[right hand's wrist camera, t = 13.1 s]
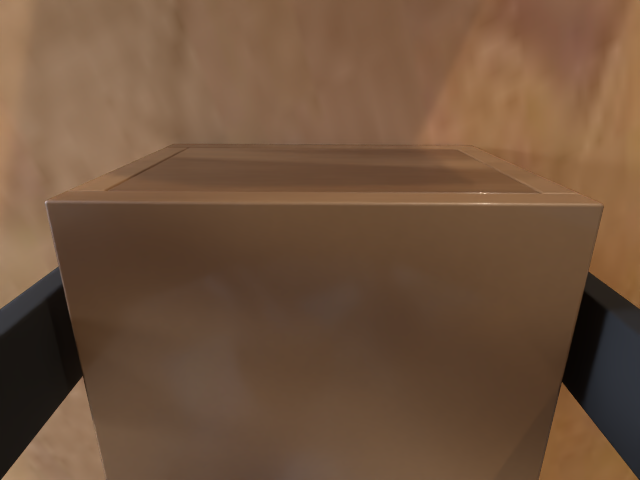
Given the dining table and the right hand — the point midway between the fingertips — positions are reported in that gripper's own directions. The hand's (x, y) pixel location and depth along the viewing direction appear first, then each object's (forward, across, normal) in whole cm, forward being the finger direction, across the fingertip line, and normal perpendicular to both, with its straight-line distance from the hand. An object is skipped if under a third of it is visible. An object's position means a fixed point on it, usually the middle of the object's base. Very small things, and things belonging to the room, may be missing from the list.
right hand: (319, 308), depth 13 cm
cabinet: (+6, 0, -7) cm, 9 cm away
